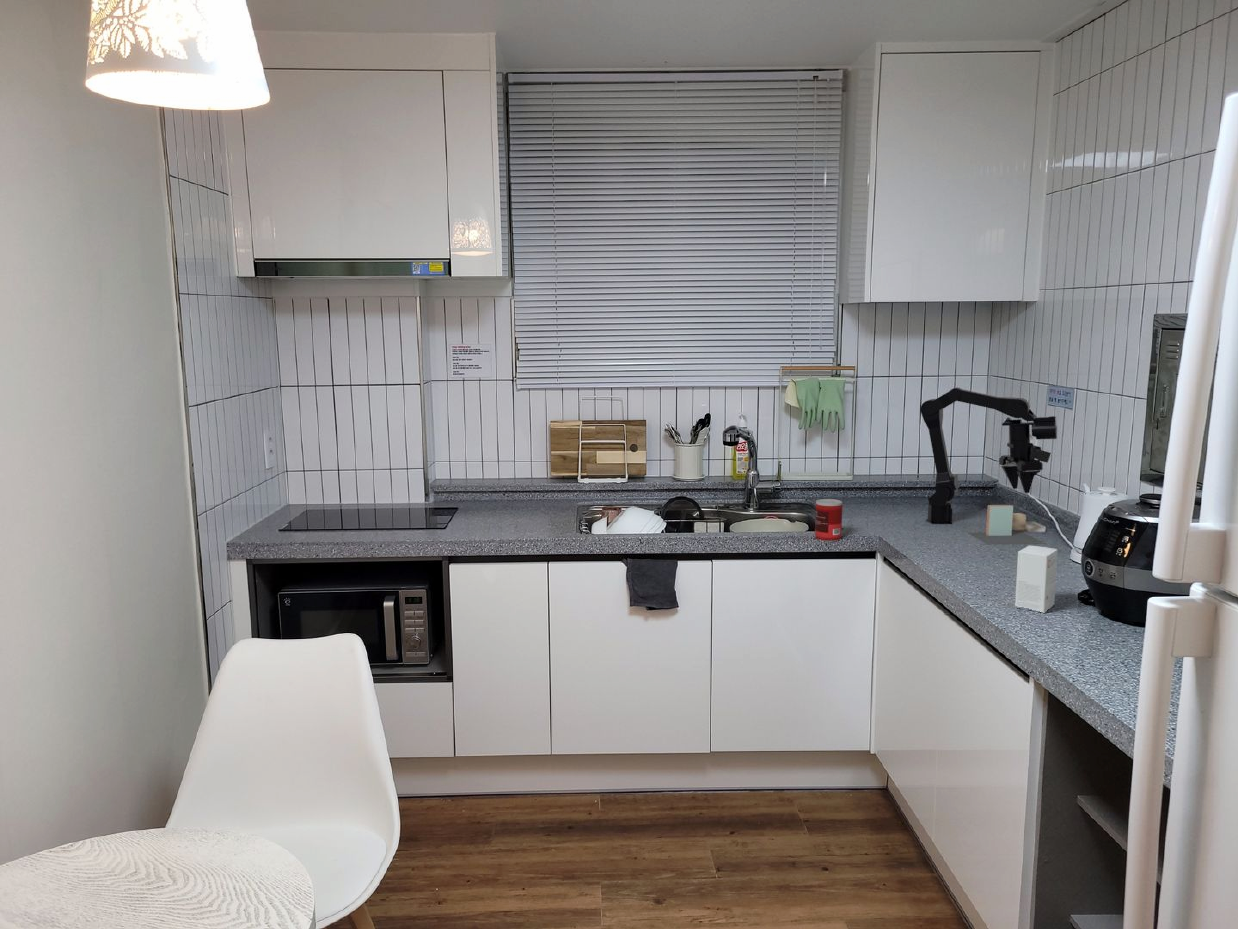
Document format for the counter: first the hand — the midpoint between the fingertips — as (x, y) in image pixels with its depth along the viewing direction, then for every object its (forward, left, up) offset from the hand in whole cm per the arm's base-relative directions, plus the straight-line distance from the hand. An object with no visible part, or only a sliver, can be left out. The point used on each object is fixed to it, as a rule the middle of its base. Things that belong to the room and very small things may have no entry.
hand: (1020, 490), depth 278 cm
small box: (-30, -78, -13) cm, 84 cm away
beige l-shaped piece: (-1, 0, -12) cm, 12 cm away
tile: (-9, -8, -12) cm, 17 cm away
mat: (-9, -12, -12) cm, 19 cm away
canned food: (-60, -9, -13) cm, 62 cm away
